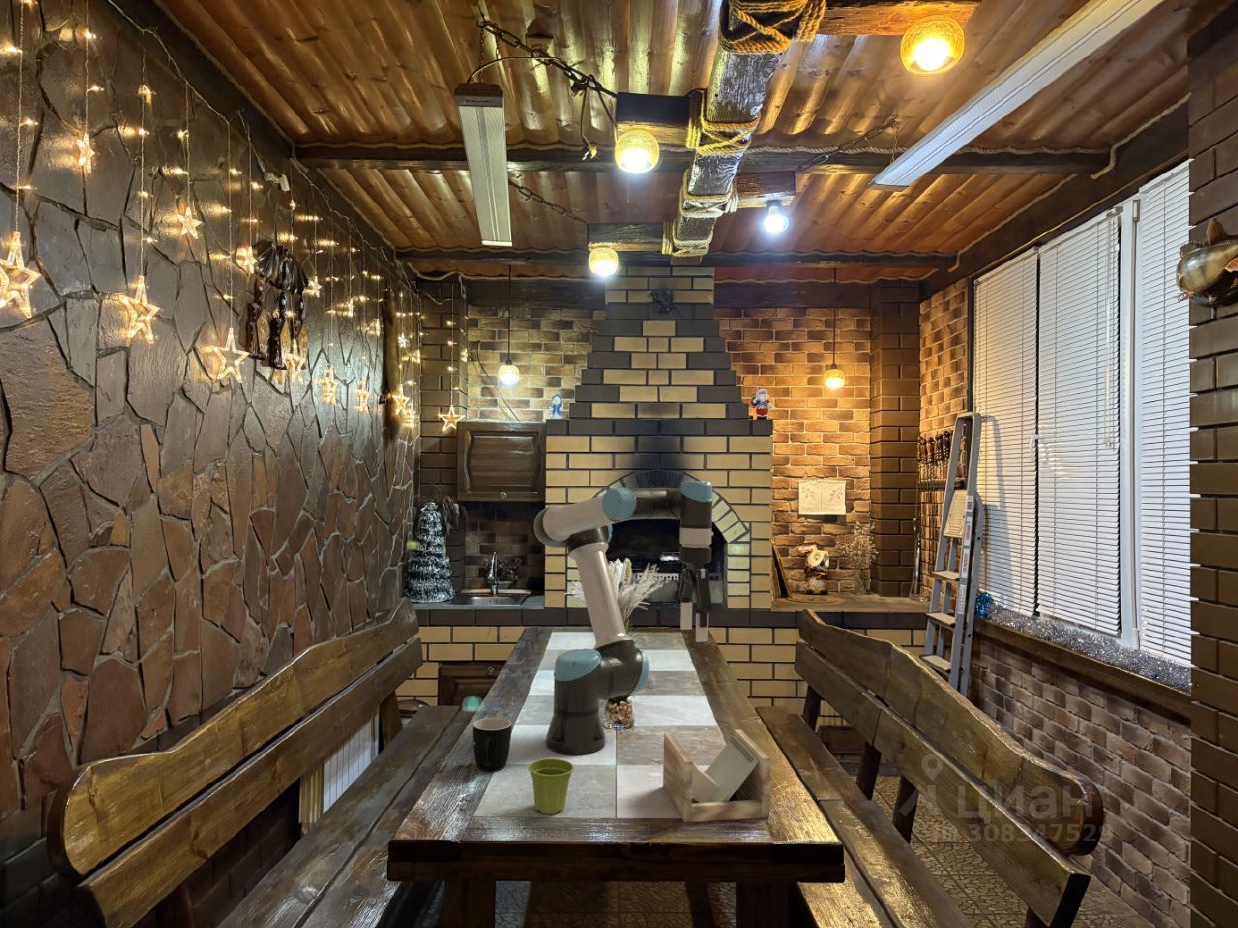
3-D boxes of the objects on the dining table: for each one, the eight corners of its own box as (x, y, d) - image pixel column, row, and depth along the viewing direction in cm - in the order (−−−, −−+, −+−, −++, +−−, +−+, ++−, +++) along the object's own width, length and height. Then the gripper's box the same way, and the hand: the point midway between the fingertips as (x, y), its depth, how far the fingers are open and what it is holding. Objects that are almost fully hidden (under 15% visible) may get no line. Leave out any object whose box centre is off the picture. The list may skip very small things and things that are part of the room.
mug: (476, 758, 187) (477, 716, 187) (513, 760, 186) (514, 718, 186) (464, 778, 175) (465, 733, 175) (503, 779, 174) (504, 734, 174)
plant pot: (573, 798, 165) (574, 758, 165) (572, 818, 156) (573, 775, 156) (529, 798, 165) (530, 757, 165) (525, 818, 155) (526, 774, 155)
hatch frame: (684, 822, 155) (685, 762, 155) (662, 786, 173) (664, 732, 173) (769, 816, 158) (770, 757, 158) (739, 782, 176) (740, 729, 176)
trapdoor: (716, 815, 158) (711, 811, 158) (697, 788, 172) (693, 784, 172) (759, 761, 160) (754, 757, 160) (736, 738, 174) (732, 734, 174)
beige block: (703, 806, 163) (683, 788, 162) (697, 796, 167) (677, 779, 167) (718, 787, 163) (698, 769, 162) (711, 778, 168) (691, 761, 167)
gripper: (727, 551, 172) (725, 646, 172) (696, 541, 197) (694, 624, 196) (694, 550, 171) (692, 647, 171) (667, 540, 195) (665, 624, 195)
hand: (693, 635), depth 184 cm, fingers open, 13 cm apart
